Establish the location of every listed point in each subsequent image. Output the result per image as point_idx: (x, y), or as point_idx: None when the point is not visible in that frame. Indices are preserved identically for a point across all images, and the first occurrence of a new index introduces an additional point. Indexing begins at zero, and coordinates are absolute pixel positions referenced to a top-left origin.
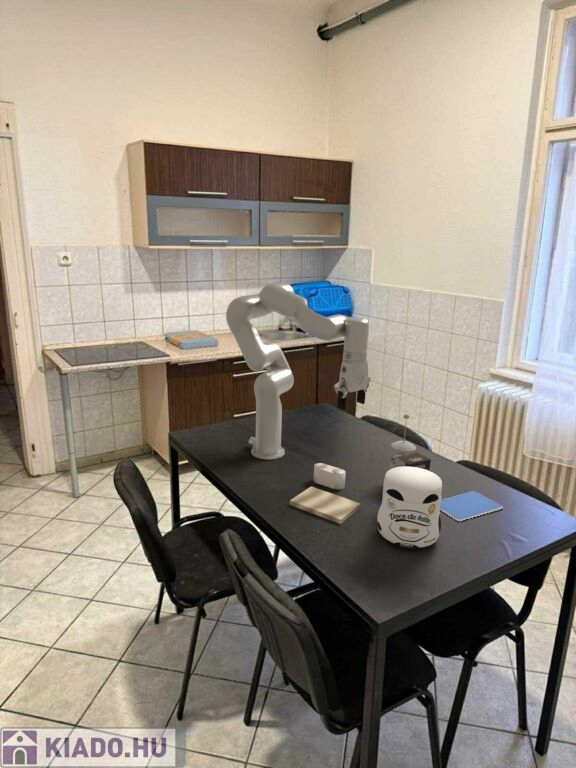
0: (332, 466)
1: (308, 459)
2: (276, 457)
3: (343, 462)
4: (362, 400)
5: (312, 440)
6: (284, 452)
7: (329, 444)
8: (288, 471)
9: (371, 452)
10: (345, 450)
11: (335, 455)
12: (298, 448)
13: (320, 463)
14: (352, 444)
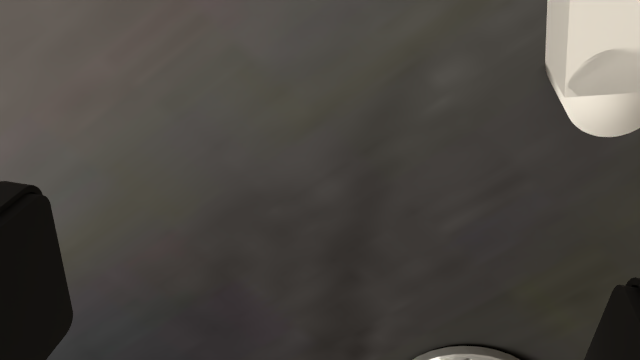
0: (570, 28)
1: (388, 249)
2: (502, 356)
3: (277, 103)
4: (6, 247)
5: (201, 339)
6: (429, 357)
7: (167, 267)
8: (589, 244)
9: (49, 65)
10: (152, 178)
11: (241, 181)
12: (321, 339)
13: (577, 118)
14: (69, 192)
